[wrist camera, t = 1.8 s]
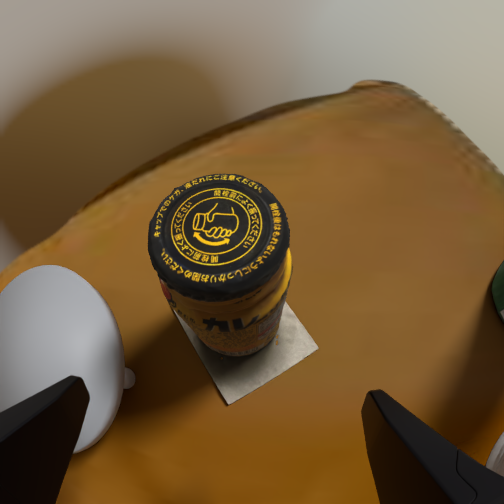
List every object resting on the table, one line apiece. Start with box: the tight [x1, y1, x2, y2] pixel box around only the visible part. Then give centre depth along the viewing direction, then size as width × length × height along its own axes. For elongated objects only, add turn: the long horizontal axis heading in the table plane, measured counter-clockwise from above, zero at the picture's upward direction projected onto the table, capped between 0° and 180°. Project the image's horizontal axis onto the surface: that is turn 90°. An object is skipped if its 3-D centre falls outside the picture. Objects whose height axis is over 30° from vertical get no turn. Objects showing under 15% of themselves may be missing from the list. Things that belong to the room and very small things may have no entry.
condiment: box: [148, 174, 318, 404], centre depth 15 cm, size 7×8×12 cm
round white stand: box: [0, 265, 135, 454], centre depth 17 cm, size 14×14×4 cm
